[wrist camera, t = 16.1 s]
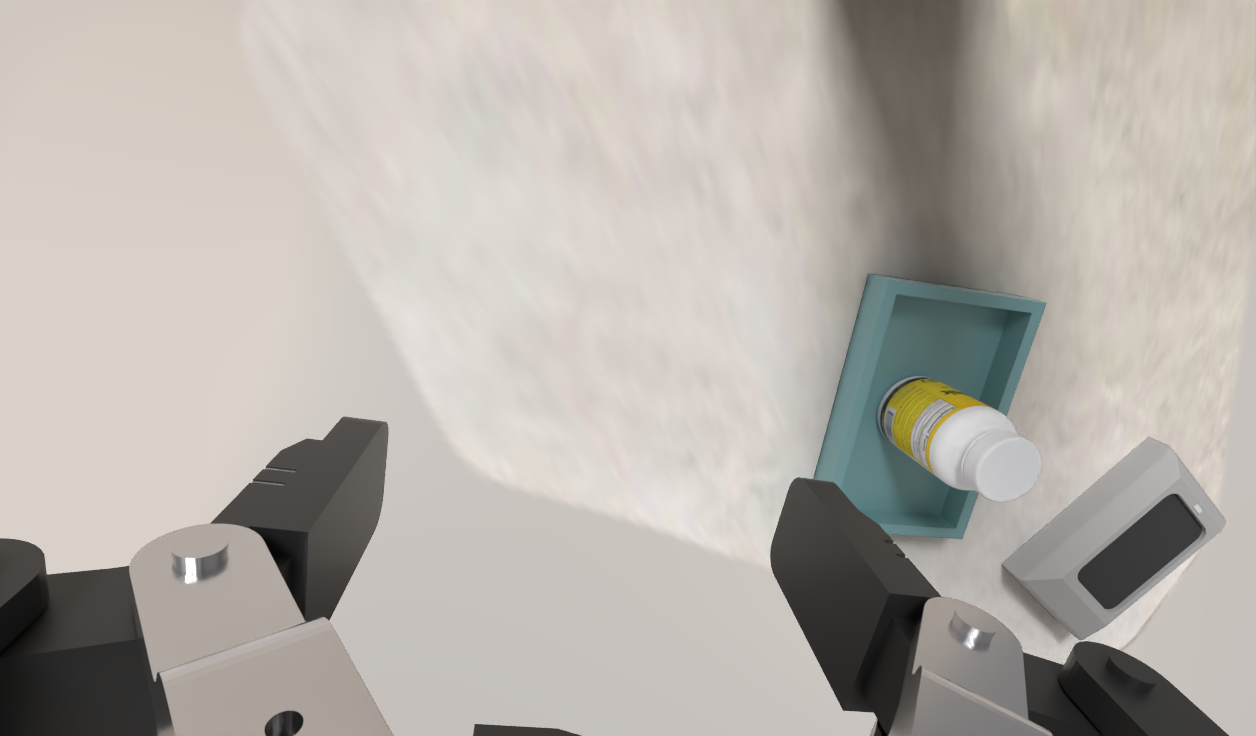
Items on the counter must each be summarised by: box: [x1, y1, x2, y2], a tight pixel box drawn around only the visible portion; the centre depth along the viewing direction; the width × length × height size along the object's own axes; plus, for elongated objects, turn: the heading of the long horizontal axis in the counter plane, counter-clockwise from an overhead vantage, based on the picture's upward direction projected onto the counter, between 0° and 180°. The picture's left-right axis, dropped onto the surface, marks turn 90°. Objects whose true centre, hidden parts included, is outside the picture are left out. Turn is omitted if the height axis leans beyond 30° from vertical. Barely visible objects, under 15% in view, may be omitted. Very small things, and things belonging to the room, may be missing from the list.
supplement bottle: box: [877, 376, 1042, 502], centre depth 38 cm, size 5×5×10 cm
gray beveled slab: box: [1002, 437, 1226, 640], centre depth 48 cm, size 10×4×15 cm
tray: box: [814, 274, 1046, 539], centre depth 42 cm, size 18×12×2 cm, turn 171°
